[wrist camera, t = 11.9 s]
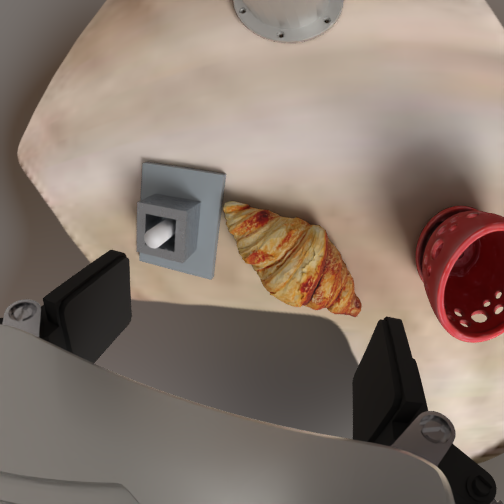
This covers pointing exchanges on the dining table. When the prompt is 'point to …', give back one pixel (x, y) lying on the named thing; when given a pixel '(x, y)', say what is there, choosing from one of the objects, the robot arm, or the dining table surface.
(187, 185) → the keeper
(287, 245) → the croissant
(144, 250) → the grey hollow block
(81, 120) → the dining table surface
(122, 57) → the dining table surface
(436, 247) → the plant pot
